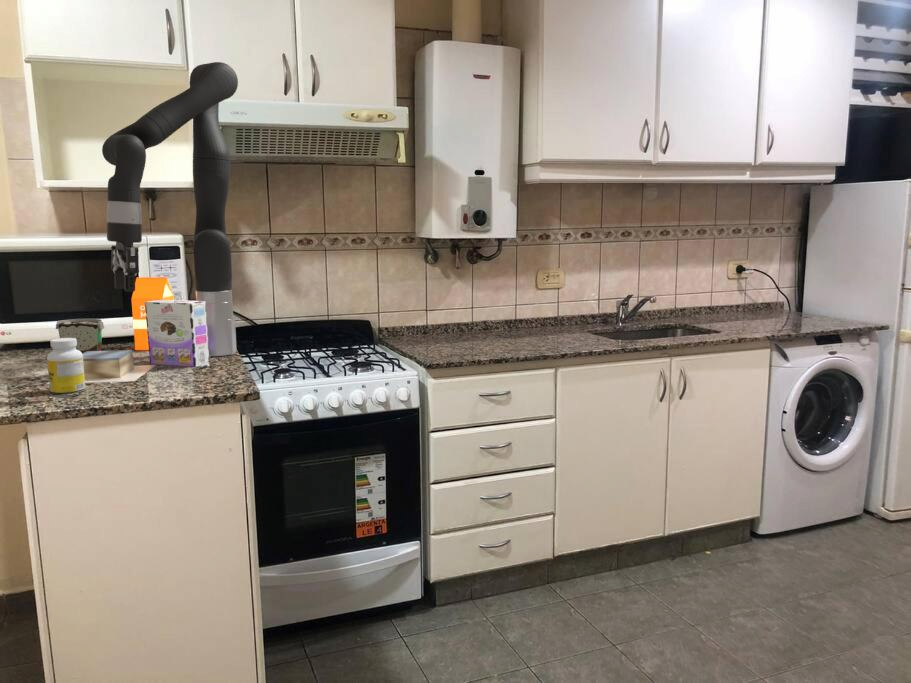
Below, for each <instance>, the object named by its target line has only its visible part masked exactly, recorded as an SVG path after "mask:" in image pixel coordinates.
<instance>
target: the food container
mask: <svg viewBox="0 0 911 683" xmlns="http://www.w3.org/2000/svg"><path fill="white" fill-rule="evenodd" d="M55 329H56V330H58V336H59V338H76V340H77V346H76V350H79V351H80V352H81V353H82V354H83V353H85V352H87V351H102V340H103V339H102V338H103V337H102V335H103V334H102V333H103V331H102V330H104V329H105V325H104V322H103V320H102V319H99V318H73V319H63V320H57V321H56V324H55Z"/></svg>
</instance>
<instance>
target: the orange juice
mask: <svg viewBox="0 0 911 683" xmlns="http://www.w3.org/2000/svg"><path fill="white" fill-rule="evenodd" d="M174 297H175V296H174V294H173V290H172V288H171V285H170V282H169V280H168V277H162V276H161V277H157V276H156V277H148V276H146V277H140V276H139V277H136V276H135V291H134V292H132V295H131V307H132V308H131V309H132V326H133V336H134V349H135V351H149V346H148V335H147V323H146V311H145V302H148V301H155V300H175V298H174Z"/></svg>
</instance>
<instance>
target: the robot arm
mask: <svg viewBox="0 0 911 683" xmlns="http://www.w3.org/2000/svg"><path fill="white" fill-rule="evenodd" d="M238 80H239V78H238V75H237V73H236V71H235V70H234V69H233V67H232V66H231V65H229V64H228V63H225V62H222V61H221V62H220V61H214V62H213V61H212V62H208V63H202V64H199V65H197V66H195V67H194V68H193V69H192V71H191V72H190V76H189V88H187V89H186V90H184V91H182V92H180V93H178V94H177V95H175V96H173V97H171V98H169V99H166V100H164V101H163V102H161V103H160V104H158V105H156V106H155V107H153V108H151V109H150V110H149V111H148V112H146V113H145V114H143V115H142V116H141V117H140V118H138V119H137V120H136V121H135V122H133V123H131V124H129V125H127V126H125V127H123V128H122V129H120V130H118V131H116V132H115V133H113V134H111V135H110V136H109V137H107V139H105V141H104V143H103V144H102V147H101V148H102V149H101V152H102V153H101V154H102V156H103V158H104V160H105V161H106V162H107V163H108V164H110V165H112V166H115V169H114V174H113V175H112V176H111V177H110V178H109V179H108V182H107V207H106V240H107V241H109V242H115V245H111V246H110V249H111V250H110V251H111V257H110V258H111V260H110V261H111V262H110V264H111V266H110V269H111V270H112V271H113V273H114V288H115V289H117V290H123V289H124V291H125V292H127V293H128V292H131V293H133V292H134V291H135V282H136V276H137V274H139V272H140V265H139V263H140V262H139V255H140V254H139V251H140V250H139V248H138V247H134V243H139V244H140V243H141V242H142V240H143V239H142V238H143V233H142V232H143V230H142V229H143V224H142V221H143V220H142V219H143V217H142V216H143V215H142V207H141V204H142V203H141V184H142V181H143V180H142V179H143V176H144V172H145V167H146V161H147V153H146V150H148V149H149V148H153V147H156V146H158V145H160V144H161V143H163V142H164V141H165V140H167V139H168V138H169V137H170V136H172V135H173V134H174V133H176V132H177V131H178V130H180V129H181V128H182V127H184V125H186V124H188V122H190V121H191V120H192V147H193V148H192V184H193V194H194V201H195V226H194V235H193V240H192V251H193V264H194V287H195V301H206V317H207V334H208V350H209V357H222V356H223V357H224V356H233V355H234V354H235V353H236V352H237V332H236V318H235V316H234V306H233V288H232V287H233V286H232V285H233V283H232V282H233V271H232V270H233V269H232V266H233V265H232V250H231V249H232V248H231V243H230V241H229V239H228V237H227V229H226V206H227V200H228V195H229V188H230V180H231V179H230V177H231V175H230V174H231V158H230V157H231V156H230V155H231V154H230V150H229V147H228V144H227V142H226V139H225V137H224V135H223V131H222V130H221V126H220V119H219V118H220V117H219V112H220V111H219V110H220V108H219V104H220V103H221V102H224V101H225V100H228V99H230V98H231V97H233V96H234V95H235V93H237V89H238V86H239V81H238Z"/></svg>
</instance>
